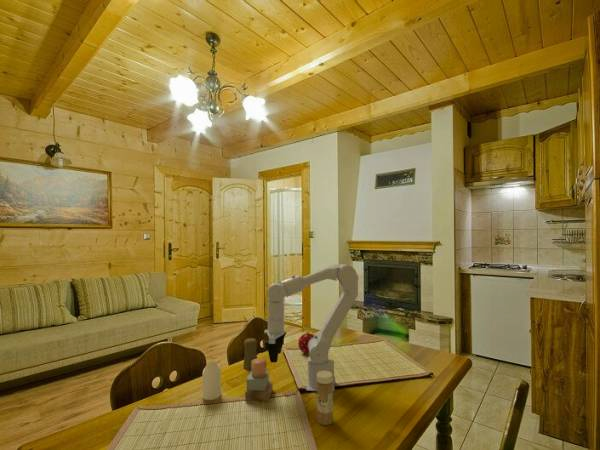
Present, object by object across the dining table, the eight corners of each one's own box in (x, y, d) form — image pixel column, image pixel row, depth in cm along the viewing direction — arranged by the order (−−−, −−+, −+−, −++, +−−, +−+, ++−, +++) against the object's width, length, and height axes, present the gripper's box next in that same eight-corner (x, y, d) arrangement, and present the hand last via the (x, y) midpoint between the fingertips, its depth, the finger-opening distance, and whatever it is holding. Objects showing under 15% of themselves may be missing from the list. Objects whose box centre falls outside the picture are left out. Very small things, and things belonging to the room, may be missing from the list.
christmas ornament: (318, 357, 134) (317, 333, 135) (298, 357, 134) (297, 333, 135) (317, 349, 143) (317, 327, 143) (298, 349, 143) (298, 327, 143)
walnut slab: (272, 391, 107) (272, 380, 107) (268, 403, 100) (268, 392, 100) (251, 390, 108) (251, 380, 108) (245, 402, 100) (245, 391, 100)
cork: (255, 370, 123) (254, 342, 123) (240, 369, 124) (240, 341, 124) (260, 363, 129) (259, 337, 129) (246, 363, 130) (246, 336, 130)
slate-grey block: (268, 381, 107) (268, 371, 107) (264, 390, 101) (264, 379, 101) (251, 381, 107) (251, 371, 107) (246, 390, 101) (246, 379, 101)
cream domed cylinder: (218, 355, 108) (222, 360, 103) (219, 390, 108) (223, 397, 103) (200, 358, 105) (203, 364, 100) (201, 394, 105) (204, 402, 100)
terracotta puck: (266, 371, 107) (266, 357, 107) (266, 377, 102) (266, 363, 102) (252, 371, 107) (251, 358, 107) (251, 378, 102) (250, 364, 102)
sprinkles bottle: (314, 421, 89) (313, 374, 89) (323, 414, 92) (322, 368, 92) (327, 428, 86) (326, 378, 86) (336, 420, 89) (335, 372, 90)
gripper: (269, 312, 117) (268, 349, 117) (259, 323, 102) (259, 365, 102) (287, 313, 116) (287, 349, 116) (281, 324, 102) (280, 366, 101)
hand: (275, 357), depth 109 cm, fingers open, 7 cm apart
